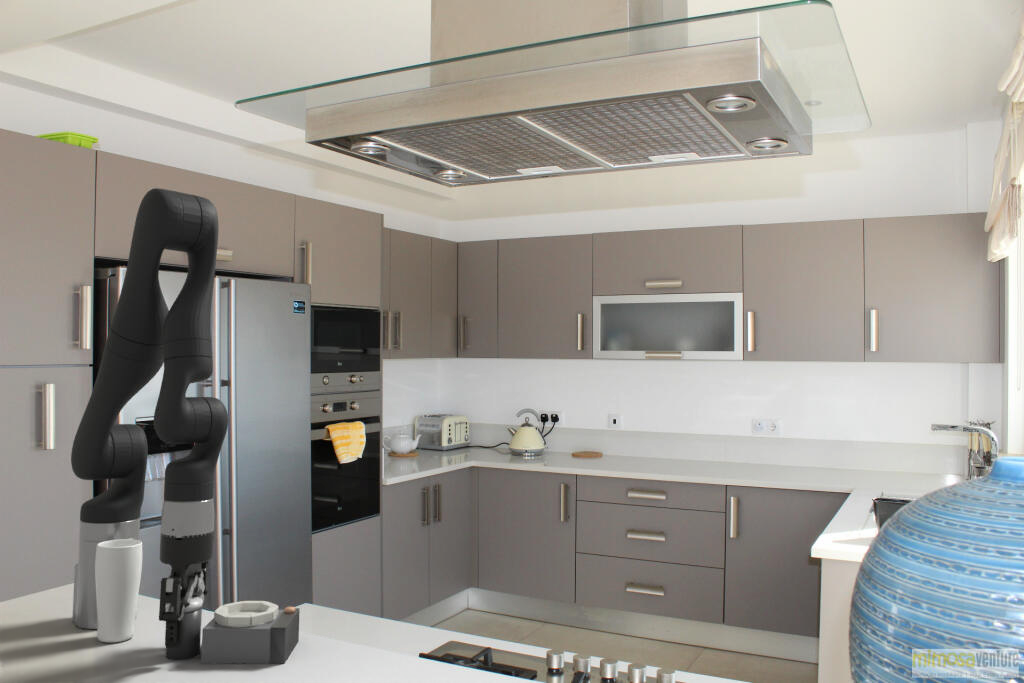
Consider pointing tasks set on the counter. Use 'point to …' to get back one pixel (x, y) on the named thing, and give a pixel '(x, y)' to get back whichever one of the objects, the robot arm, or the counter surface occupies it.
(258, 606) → the block with octagonal ring
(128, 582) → the drinking glass
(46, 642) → the counter surface
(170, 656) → the dark capped cylinder
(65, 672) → the counter surface
